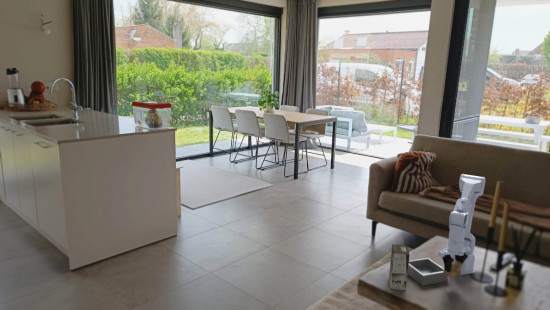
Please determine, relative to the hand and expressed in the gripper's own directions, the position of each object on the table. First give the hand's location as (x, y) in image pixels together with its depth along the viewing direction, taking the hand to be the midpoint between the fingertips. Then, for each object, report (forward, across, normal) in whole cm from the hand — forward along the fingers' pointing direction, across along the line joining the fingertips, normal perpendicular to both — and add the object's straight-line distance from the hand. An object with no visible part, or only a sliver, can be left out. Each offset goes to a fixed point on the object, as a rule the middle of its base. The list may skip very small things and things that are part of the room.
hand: (452, 270), depth 164 cm
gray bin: (+8, -4, +11) cm, 14 cm away
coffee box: (+8, -20, +8) cm, 23 cm away
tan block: (+2, 0, 0) cm, 2 cm away
